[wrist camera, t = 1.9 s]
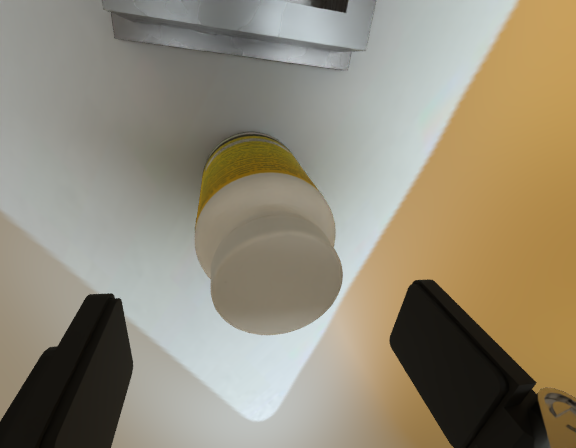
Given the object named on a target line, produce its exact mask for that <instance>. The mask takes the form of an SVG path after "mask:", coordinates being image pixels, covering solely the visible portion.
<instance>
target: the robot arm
mask: <svg viewBox="0 0 576 448" xmlns="http://www.w3.org/2000/svg"><path fill="white" fill-rule="evenodd" d="M390 345H391V348H392V350H393V351H394V353H395V354H396V356H397V358H398V359H399V361H400V363H401V364H402V366H403V368H404V369H405V371H406V373H407V374H408V376H409V377H410V379H411V381H412V382H413V384H414V386H415V387H416V389H417V390H418V392H419V394H420V395H421V397H422V399H423V400H424V402H425V404H426V405H427V407H428V408H429V410H430V412H431V413H432V415H433V417H434V418H435V420H436V421H437V423H438V425H439V426H440V428H441V430H442V431H443V433H444V435H445V436H446V438H447V439H448V441H449V443H450V444H451V445H452V446H453V447H454V448H576V398H575V397H573V396H571V395H569V394H567V393H566V392H564V391H560V390H558V389H555V388H543V389H540V390H539V392H538V393H537V394H536V393H535V392H534V391H533V390H532V388H533V387H534V385H535V384H536V382H535V381H534V380H533V379H532V378H531V377H530V376H529V375H528V374H527V373H526V372H525V371H524V370H523V369H522V368H521V367H520V366H519V365H518V364H517V363H516V362H515V361H514V360H513V359H512V358H511V357H510V356H509V355H508V354H507V353H506V352H505V351H504V350H503V349H502V348H501V347H500V346H499V345H498V344H497V343H496V342H495V341H494V340H493V339H492V338H491V337H490V336H489V335H488V334H487V333H486V332H485V331H484V330H483V329H482V328H481V327H480V326H479V325H478V324H477V323H476V322H475V321H474V320H473V319H472V318H471V317H470V316H469V315H468V314H467V313H466V312H465V311H464V310H463V309H462V308H461V307H460V306H459V305H457V303H456V302H455V301H454V300H453V299H452V298H451V297H450V296H449V295H448V294H447V293H446V292H445V291H444V290H443V289H442V288H441V287H440V286H439V285H438V284H437V283H436V282H435V281H433V280H415V281H414V282H413V283H412V285H410V286H409V288H408V291H407V293H406V296H405V298H404V301H403V304H402V306H401V309H400V312H399V314H398V317H397V320H396V322H395V325H394V327H393V330H392V333H391V335H390ZM132 370H133V360H132V355H131V349H130V343H129V338H128V333H127V328H126V322H125V317H124V311H123V306H122V301H121V299H120V298H116V299H115V297H114V295H113V294H90V295H88V296H87V297H86V298H85V300H84V302H83V304H82V305H81V307H80V309H79V311H78V312H77V314H76V316H75V317H74V319H73V321H72V322H71V324H70V326H69V328H68V329H67V331H66V333H65V334H64V336H63V338H62V340H61V342H60V343H59V345H58V346H57V347H50V348H48V349H47V350H46V351H44V353H43V354H42V355H41V357H40V358H39V360H38V362H37V363H36V365H35V366H34V368H33V370H32V371H31V373H30V374H29V376H28V378H27V379H26V381H25V382H24V384H23V386H22V387H21V389H20V391H19V392H18V394H17V396H16V397H15V399H14V400H13V402H12V403H11V405H10V407H9V408H8V410H7V412H6V413H5V415H4V416H3V418H2V420H1V421H0V448H111V445H112V442H113V438H114V435H115V431H116V428H117V424H118V421H119V417H120V414H121V410H122V407H123V403H124V400H125V396H126V393H127V389H128V386H129V382H130V379H131V375H132Z"/></svg>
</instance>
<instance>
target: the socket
mask: <svg viewBox="0 0 576 448" xmlns="http://www.w3.org/2000/svg"><path fill="white" fill-rule="evenodd" d="M102 3H103V9H104V10H106V11H108V12H111V16H112V23H113V30H114V38H116V39H122V40H130V41H137V42H144V43H151V44H158V45H166V46H173V47H180V48H187V49H195V50H202V51H209V52H216V53H223V54H231V55H238V56H245V57H252V58H260V59H267V60H274V61H281V62H289V63H296V64H303V65H310V66H317V67H325V68H332V69H339V70H348V67H349V62H350V57H351V52H352V51H366V47H367V43H368V38H369V33H370V28H371V23H372V19H373V14H374V9H375V4H376V0H102Z"/></svg>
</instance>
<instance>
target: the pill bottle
mask: <svg viewBox="0 0 576 448" xmlns="http://www.w3.org/2000/svg"><path fill="white" fill-rule="evenodd" d="M334 243H335V222H334V218H333V214H332V212H331V209H330V207H329V205H328V203H327V202H326V200H325V199H324V197H323V196H322V194H321V193H320V192H319V190H318V189H317V188H316V186H315V185H314V184H313V182H312V181H311V180H310V178H309V177H308V176H307V174H306V173H305V171H304V170H303V168H302V167H301V166H300V164H299V163H298V162H297V160H296V159H295V157H294V156H293V155H292V153H291V152H290V151H289V150H288V149H287V147H286V146H285V145H284V144H282V143H281V142H280V141H278V140H277V139H275V138H273V137H271V136H269V135H266V134H262V133H254V132H249V133H241V134H237V135H234V136H232V137H230V138H227V139H226V140H224V141H223V142H221V143H220V144H219V145H218V146H217V147H216V148H215V149H214V150H213V151H212V153H211V154H210V156H209V158H208V159H207V162H206V164H205V167H204V171H203V177H202V185H201V191H200V198H199V206H198V213H197V218H196V226H195V249H196V254H197V257H198V260H199V262H200V265H201V267H202V268H203V270H204V272H205V273H206V274H207V276H208V277H209V278H210V279H211V297H212V301H213V303H214V306H215V308H216V310H217V312H218V313H219V314H220V316H221V317H222V318H223V319H224V320H225V321H226V322H228V323H229V324H230V325H232V326H234V327H235V328H237V329H240V330H242V331H245V332H248V333H253V334H259V335H276V334H283V333H287V332H291V331H294V330H297V329H300V328H302V327H304V326H306V325H308V324H310V323H312V322H313V321H315V320H316V319H318V318H319V317H320V316H322V315H323V314H324V313H325V312H326V311H327V310H328V309H329V308H330V306H331V305H332V304H333V302H334V301H335V299H336V297H337V295H338V293H339V291H340V288H341V284H342V278H343V272H342V266H341V262H340V259H339V257H338V255H337V253H336V251H335V249H334V248H333V247H334Z"/></svg>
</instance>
